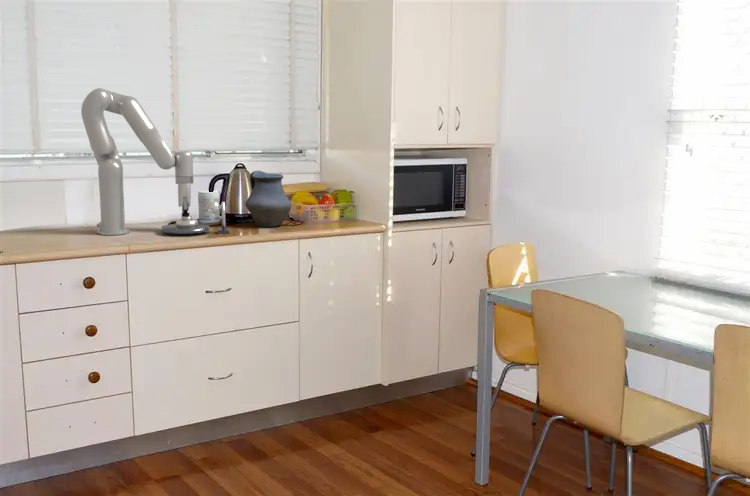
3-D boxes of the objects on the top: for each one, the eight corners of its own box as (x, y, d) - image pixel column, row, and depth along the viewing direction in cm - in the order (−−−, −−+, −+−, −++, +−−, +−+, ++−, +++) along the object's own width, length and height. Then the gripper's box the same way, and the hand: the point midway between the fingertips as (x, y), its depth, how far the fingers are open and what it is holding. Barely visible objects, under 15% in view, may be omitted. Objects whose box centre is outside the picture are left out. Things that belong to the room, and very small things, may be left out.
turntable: (151, 231, 322) (151, 227, 322) (185, 225, 339) (185, 221, 339) (186, 235, 313) (186, 231, 312) (219, 229, 330) (219, 225, 329)
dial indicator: (230, 232, 331) (229, 201, 328) (229, 233, 326) (228, 202, 324) (209, 232, 330) (208, 201, 327) (208, 233, 325) (207, 202, 323)
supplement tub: (213, 220, 365) (213, 189, 363) (223, 222, 358) (222, 191, 356) (195, 221, 359) (194, 190, 357) (204, 224, 352) (203, 192, 349)
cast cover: (171, 227, 323) (171, 216, 322) (186, 224, 331) (185, 214, 330) (188, 229, 319) (188, 218, 318) (202, 226, 327) (202, 215, 326)
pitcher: (266, 230, 336) (265, 174, 331) (234, 225, 350) (233, 171, 345) (300, 226, 351) (300, 171, 347) (268, 221, 365) (268, 169, 361)
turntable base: (168, 233, 324) (168, 231, 324) (185, 230, 333) (185, 228, 333) (186, 235, 320) (186, 233, 319) (202, 232, 328) (202, 230, 328)
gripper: (175, 178, 334) (176, 220, 337) (175, 181, 320) (177, 225, 323) (192, 178, 336) (194, 219, 339) (193, 181, 322) (195, 224, 325)
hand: (185, 222), depth 331 cm, fingers closed
